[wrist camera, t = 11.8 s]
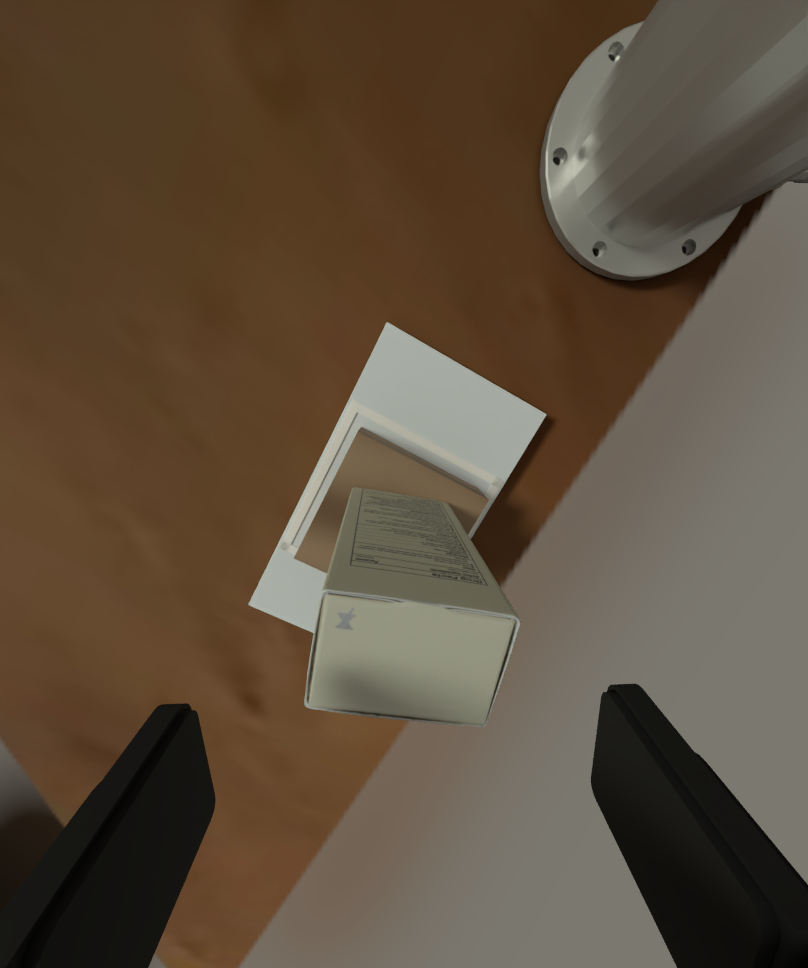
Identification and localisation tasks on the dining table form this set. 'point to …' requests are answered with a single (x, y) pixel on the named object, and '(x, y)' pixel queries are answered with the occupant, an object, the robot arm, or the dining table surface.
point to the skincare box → (408, 617)
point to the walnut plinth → (387, 471)
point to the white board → (414, 427)
